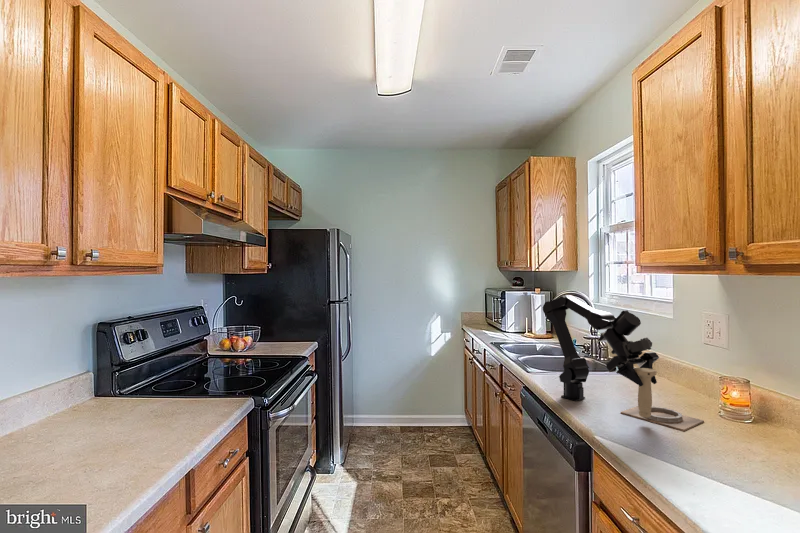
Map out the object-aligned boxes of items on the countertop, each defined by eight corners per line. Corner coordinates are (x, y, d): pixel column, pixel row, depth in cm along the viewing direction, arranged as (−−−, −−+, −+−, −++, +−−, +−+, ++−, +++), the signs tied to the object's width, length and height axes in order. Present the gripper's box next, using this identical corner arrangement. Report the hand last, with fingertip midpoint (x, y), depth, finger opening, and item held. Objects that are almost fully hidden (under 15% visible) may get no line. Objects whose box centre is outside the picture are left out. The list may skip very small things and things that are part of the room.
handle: (659, 419, 138) (659, 371, 138) (638, 418, 138) (638, 371, 138) (651, 413, 143) (651, 368, 143) (631, 413, 143) (631, 367, 143)
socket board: (620, 413, 151) (620, 408, 151) (641, 405, 159) (641, 401, 159) (683, 431, 135) (683, 425, 135) (704, 422, 143) (704, 416, 143)
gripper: (613, 331, 140) (644, 373, 130) (653, 327, 148) (686, 367, 138) (593, 351, 148) (621, 392, 138) (633, 347, 155) (662, 386, 145)
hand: (648, 384), depth 139 cm, fingers closed on handle, 6 cm apart
